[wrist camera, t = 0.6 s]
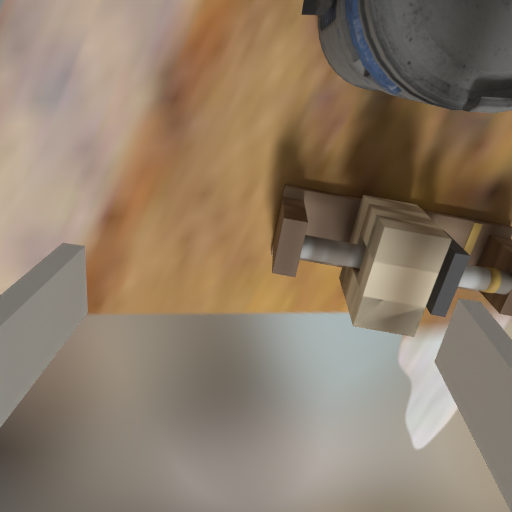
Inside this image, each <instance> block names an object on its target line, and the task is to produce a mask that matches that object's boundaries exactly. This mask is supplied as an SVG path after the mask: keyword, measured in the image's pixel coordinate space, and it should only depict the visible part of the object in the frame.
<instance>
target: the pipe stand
mask: <svg viewBox="0 0 512 512" xmlns="http://www.w3.org/2000/svg"><path fill="white" fill-rule="evenodd" d="M361 200H362V199H361V198H355V197H350V196H345V195H339V194H334V193H328V192H323V191H318V190H312V189H307V188H301V187H296V186H290V185H285V188H284V192H283V197H282V202H281V207H280V212H279V217H278V221H277V226H276V231H275V236H274V241H273V246H272V250H271V255H273V265H272V273H275V274H280V275H286V276H292V277H295V276H296V272H297V268H298V264H299V260H304V261H310V262H315V263H321V264H326V265H332V266H337V267H343V266H348V267H354V268H359V269H360V267H361V264H362V261H363V258H364V254H365V251H366V248H367V247H366V246H364V245H358V244H353V243H349V242H350V239H351V235H352V232H353V228H354V225H355V221H356V218H357V214H358V211H359V207H360V204H361ZM423 211H424V212H425V213H426V214H427V215H428V216H429V217H430V218H431V219H432V220H433V221H434V222H435V223H436V224H437V225H438V226H439V227H440V228H441V229H442V230H444V231H446V232H447V233H448V234H449V235H450V236H451V237H452V238H453V239H454V240H455V241H456V242H457V243H458V244H459V245H460V246H461V247H462V248H463V249H464V250H465V251H466V252H467V253H468V254H469V255H470V258H469V261H468V263H467V266H466V268H465V270H464V273H463V275H462V278H461V280H460V282H459V285H458V287H457V288H460V289H465V290H471V291H476V292H481V293H482V295H483V296H484V297H485V298H486V299H487V300H488V301H489V302H490V303H491V305H492V306H493V307H494V308H495V309H496V310H497V311H498V312H499V314H504V315H510V316H512V240H511V236H512V227H511V226H507V225H502V224H496V223H491V222H485V221H480V220H475V219H469V218H464V217H458V216H453V215H448V214H442V213H437V212H431V211H426V210H423Z"/></svg>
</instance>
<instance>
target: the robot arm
mask: <svg viewBox="0 0 512 512" xmlns="http://www.w3.org/2000/svg"><path fill="white" fill-rule="evenodd" d="M87 313H88V309H87V285H86V261H85V246H81V245H74V244H67V243H62V244H61V245H60V246H59V247H58V248H56V249H55V250H54V251H53V252H52V253H50V254H49V255H48V256H47V257H46V258H44V259H43V260H42V261H41V262H40V263H38V264H37V265H36V266H35V267H34V268H33V269H31V270H30V271H29V272H28V273H27V274H25V275H24V276H23V277H22V278H21V279H19V280H18V281H17V282H16V283H15V284H13V285H12V286H11V287H10V288H9V289H7V290H6V291H5V292H4V293H3V294H1V295H0V427H1V426H2V424H3V423H4V422H5V421H6V419H7V418H8V417H9V415H10V414H11V413H12V411H13V410H14V409H15V407H16V406H17V405H18V403H19V402H20V401H21V400H22V398H23V397H24V396H25V394H26V393H27V392H28V390H29V389H30V388H31V387H32V385H33V384H34V382H35V381H36V380H37V379H38V377H39V376H40V375H41V373H42V372H43V371H44V369H45V368H46V367H47V366H48V364H49V363H50V362H51V360H52V359H53V358H54V356H55V355H56V354H57V353H58V351H59V350H60V349H61V347H62V346H63V345H64V343H65V342H66V341H67V339H68V338H69V337H70V335H71V334H72V333H73V332H74V330H75V329H76V328H77V326H78V325H79V324H80V322H81V321H82V320H83V319H84V317H85V316H86V315H87ZM435 363H436V365H437V367H438V369H439V371H440V373H441V375H442V377H443V379H444V381H445V383H446V385H447V387H448V389H449V391H450V393H451V395H452V397H453V399H454V401H455V403H456V405H457V407H458V409H459V411H460V412H461V415H462V416H463V418H464V420H465V422H466V424H467V426H468V428H469V430H470V432H471V434H472V436H473V438H474V440H475V442H476V444H477V446H478V448H479V450H480V452H481V454H482V455H483V458H484V460H485V462H486V464H487V466H488V467H489V469H490V471H491V473H492V475H493V477H494V479H495V481H496V483H497V485H498V487H499V489H500V491H501V493H502V495H503V497H504V499H505V501H506V503H507V505H508V507H509V509H510V511H511V512H512V340H511V338H510V337H509V336H508V335H507V334H506V332H505V331H504V330H503V329H502V327H501V326H500V325H499V324H498V323H497V321H496V320H495V319H494V318H493V317H492V315H491V314H490V313H489V312H488V311H487V309H486V308H485V307H484V306H483V304H482V303H481V302H479V301H472V300H464V299H458V302H457V304H456V307H455V309H454V312H453V315H452V317H451V320H450V323H449V325H448V328H447V330H446V333H445V336H444V338H443V341H442V344H441V346H440V349H439V351H438V354H437V357H436V359H435Z"/></svg>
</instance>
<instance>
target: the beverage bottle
mask: <svg viewBox="0 0 512 512" xmlns="http://www.w3.org/2000/svg"><path fill="white" fill-rule="evenodd" d="M302 15H319V22H318V29H319V39H320V43H321V46H322V50H323V53H324V55H325V57H326V59H327V61H328V63H329V64H330V66H331V67H332V68H333V70H334V71H335V72H336V73H337V74H338V75H339V76H340V77H342V78H343V79H344V80H345V81H347V82H349V83H351V84H353V85H355V86H356V87H360V88H364V89H368V90H379V91H383V92H385V93H387V94H389V95H393V96H397V97H401V98H405V99H409V100H413V101H419V102H423V103H426V104H430V105H435V106H439V107H443V108H447V109H451V110H464V111H468V112H486V113H498V112H504V111H510V110H512V0H304V2H303V9H302Z"/></svg>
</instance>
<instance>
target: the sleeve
mask: <svg viewBox="0 0 512 512" xmlns="http://www.w3.org/2000/svg"><path fill="white" fill-rule="evenodd" d="M451 240H452V239H451V238H450V237H449V236H448V235H447V234H446V233H445V232H444V231H443V230H442V229H441V228H440V227H439V226H438V225H437V224H436V223H435V222H434V221H433V220H432V219H431V218H430V217H429V216H428V215H427V214H426V213H425V212H424V211H423V210H422V209H421V208H420V207H419V206H418V205H416V204H411V203H405V202H400V201H395V200H389V199H384V198H378V197H373V196H368V195H363V197H362V200H361V204H360V207H359V211H358V214H357V218H356V221H355V225H354V228H353V232H352V235H351V239H350V242H349V243H353V244H358V245H364V246H366V247H367V248H366V251H365V254H364V258H363V261H362V264H361V267H360V269H359V268H354V267H348V266H343V267H342V270H341V274H340V277H339V279H340V282H341V286H342V289H343V293H344V296H345V299H346V303H347V306H348V310H349V313H350V316H351V320H352V324H353V326H355V327H361V328H367V329H372V330H378V331H384V332H389V333H395V334H401V335H406V336H412V337H414V335H415V333H416V330H417V328H418V325H419V322H420V320H421V317H422V315H423V312H424V310H425V307H426V305H427V302H428V299H429V297H430V294H431V292H432V289H433V287H434V284H435V281H436V279H437V276H438V274H439V271H440V269H441V266H442V264H443V261H444V258H445V256H446V253H447V251H448V248H449V246H450V243H451Z"/></svg>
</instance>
